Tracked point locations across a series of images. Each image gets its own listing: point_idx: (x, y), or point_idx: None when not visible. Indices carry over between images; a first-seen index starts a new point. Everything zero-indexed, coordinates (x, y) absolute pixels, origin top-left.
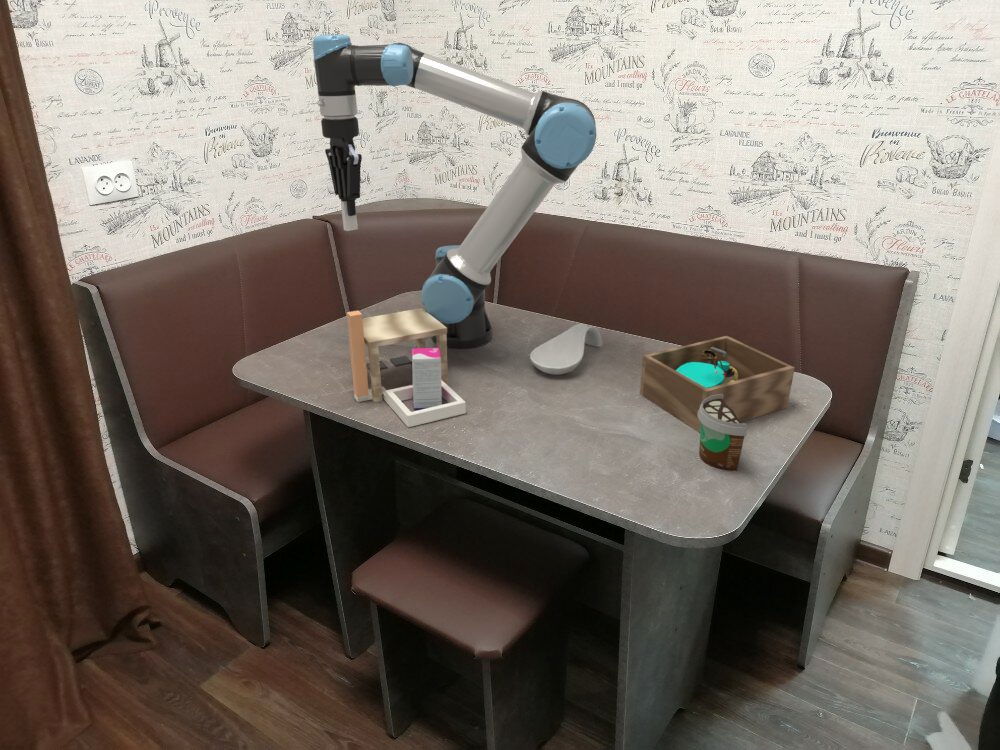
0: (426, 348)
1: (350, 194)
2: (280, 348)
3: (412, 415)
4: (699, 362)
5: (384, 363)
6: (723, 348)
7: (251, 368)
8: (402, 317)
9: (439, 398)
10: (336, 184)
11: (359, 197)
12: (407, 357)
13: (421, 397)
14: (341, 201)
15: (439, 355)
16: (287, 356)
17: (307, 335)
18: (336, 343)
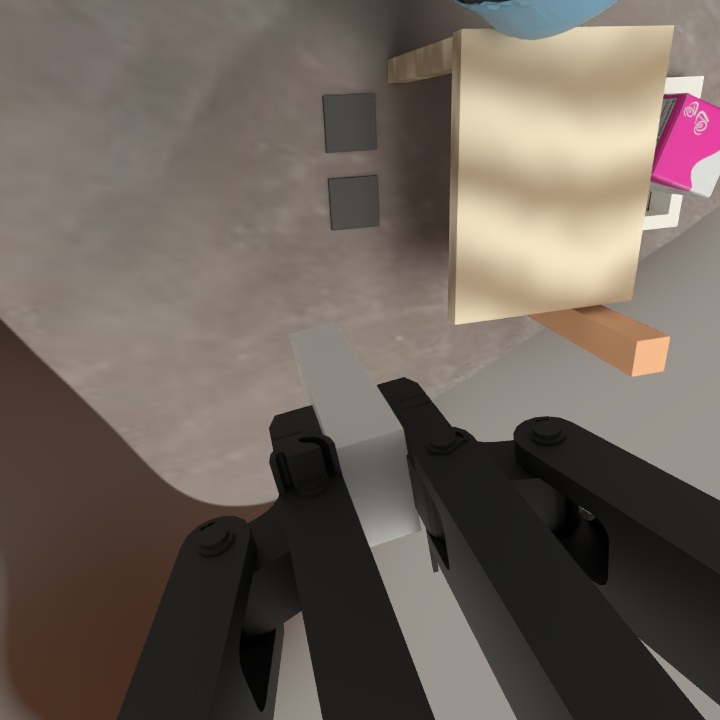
0: (673, 133)
1: (599, 532)
2: (125, 423)
3: (677, 214)
4: None
5: (353, 178)
6: None
7: (239, 486)
8: (514, 143)
9: None
10: (266, 707)
11: (553, 420)
12: (340, 96)
13: None
14: (369, 538)
15: None
16: (192, 410)
17: (33, 346)
18: (134, 273)
